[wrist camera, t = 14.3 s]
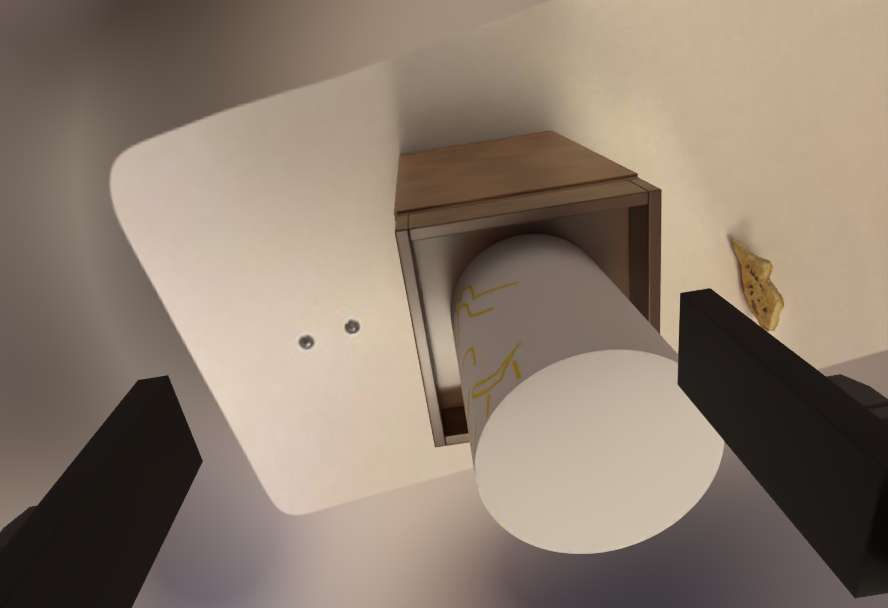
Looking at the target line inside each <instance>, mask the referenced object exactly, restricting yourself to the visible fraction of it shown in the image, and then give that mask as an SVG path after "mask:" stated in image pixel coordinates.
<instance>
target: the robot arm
mask: <svg viewBox="0 0 888 608" xmlns="http://www.w3.org/2000/svg"><path fill="white" fill-rule="evenodd" d="M677 385H678V386H679V387H680V388H681V390H682V391H683V392H684V393H685V394H686V396H687V397H688V398H689V399H690V400H691V402H692V403H693V404H694V405H695V406H696V408H697V409H698V410H699V411H700V412H701V414H702V415H703V416H704V417H705V418H706V420H707V421H708V422H709V423H710V424H711V426H712V427H713V428H714V429H715V430H716V432H717V433H718V434H719V435H720V436H721V438H722V439H723V440H724V441H725V442H726V444H727V445H728V446H729V447H730V448H731V450H732V451H733V452H734V453H735V454H736V455H737V457H738V458H739V459H740V461H742V463H743V464H744V465H745V467H747V469H748V470H749V471H750V473H751V474H752V475H753V476H754V477H755V479H756V480H757V481H758V482H759V483H760V485H761V486H762V487H763V488H764V489H765V491H766V492H767V493H768V494H769V495H770V497H771V498H772V499H773V500H774V501H775V503H776V504H777V505H778V506H779V507H780V509H781V510H782V511H783V512H784V513H785V515H786V516H787V517H788V518H789V519H790V521H791V522H792V523H793V524H794V526H795V527H796V528H797V529H798V530H799V532H800V533H801V534H802V535H803V536H804V537H805V539H806V540H807V541H808V542H809V544H810V545H811V546H812V547H813V548H814V550H816V552H817V553H818V554H819V556H820V557H821V558H822V559H823V560H824V561H825V563H826V564H827V565H828V566H829V568H830V569H831V570H832V571H833V572H834V574H835V575H836V576H837V577H838V578H839V579H840V581H841V582H842V583H843V584H844V586H845V587H846V588H847V589H848V590H849V592H850V593H851V594H852V595H853V597H854V598H859V597H866V596H872V595H878V594H884V593H888V399H887V398H885V397H884V396H882V395H881V394H880V393H878V392H877V391H875V390H874V389H873V388H871V387H870V386H868V385H865V384H863V383H861V382H858V381H855V380H853V379H851V378H848V377H846V376H843V375H841V374H840V375H833V376H828V377H826V376H824V375H823V374H821V373H820V372H819V371H818V370H816V369H815V368H814V367H813V366H811V365H810V364H809V363H807V362H806V361H805V360H803V359H802V358H801V357H799V356H798V355H797V354H796V353H794V352H793V351H792V350H790V349H789V348H788V347H786V346H785V345H784V344H782V343H781V342H780V341H778V340H777V339H776V338H775V337H773V336H772V335H771V334H769V333H768V332H767V331H765V330H764V329H763V328H761V327H760V326H759V325H758V324H756V323H755V322H754V321H752V320H751V319H750V318H748V317H747V316H746V315H744V314H743V313H742V312H741V311H739V310H738V309H737V308H735V307H734V306H733V305H731V304H730V303H729V302H727V301H726V300H725V299H724V298H722V297H721V296H720V295H718V294H717V293H716V292H714V291H713V290H712V289H710V288H709V289H703V290H697V291H690V292H684V293H680V321H679V352H678V382H677ZM202 462H203V461H202V458H201V456H200V453H199V451H198V448H197V446H196V443H195V441H194V438H193V436H192V434H191V431H190V428H189V426H188V423H187V421H186V419H185V416H184V414H183V411H182V409H181V406H180V404H179V401H178V399H177V396H176V394H175V391H174V389H173V386H172V384H171V382H170V379H169V377H168V376H161V377H155V378H149V379H143V380H138V381H137V382H136V383H135V385H134V386H133V387H132V388H131V390H130V391H129V392H128V393H127V395H126V396H125V397H124V398H123V400H122V401H121V402H120V403H119V405H118V406H117V407H116V408H115V409H114V411H113V412H112V413H111V414H110V416H109V417H108V418H107V420H106V421H105V422H104V423H103V425H102V426H101V427H100V428H99V429H98V431H97V432H96V433H95V435H94V436H93V437H92V438H91V439H90V441H89V442H88V443H87V444H86V446H85V447H84V448H83V449H82V451H81V452H80V453H79V454H78V456H77V457H76V458H75V460H74V461H73V462H72V463H71V464H70V466H69V467H68V468H67V469H66V471H65V472H64V473H63V474H62V476H61V477H60V478H59V479H58V481H57V482H56V483H55V484H54V486H53V487H52V488H51V489H50V491H49V492H48V493H47V494H46V495H45V497H44V498H43V499H42V501H41V502H40V503H39V504H38V506H32V507H29V508H28V509H27V510H25V511H24V512H23V513H22V514H21V515H19V516H18V517H17V518H15V519H14V520H13V521H12V522H10V523H9V524H8V525H7V526H6V527H4V528H3V529H2V531H1V532H0V608H132V606H133V604H134V602H135V600H136V598H137V596H138V593H139V592H140V589H141V587H142V585H143V583H144V581H145V579H146V577H147V575H148V573H149V571H150V569H151V567H152V565H153V563H154V561H155V559H156V557H157V554H158V552H159V550H160V548H161V546H162V544H163V542H164V540H165V538H166V536H167V534H168V532H169V530H170V528H171V526H172V523H173V522H174V519H175V517H176V515H177V513H178V511H179V509H180V507H181V505H182V503H183V501H184V499H185V497H186V495H187V493H188V491H189V489H190V486H191V484H192V482H193V480H194V478H195V476H196V474H197V472H198V470H199V468H200V466H201V464H202Z"/></svg>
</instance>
